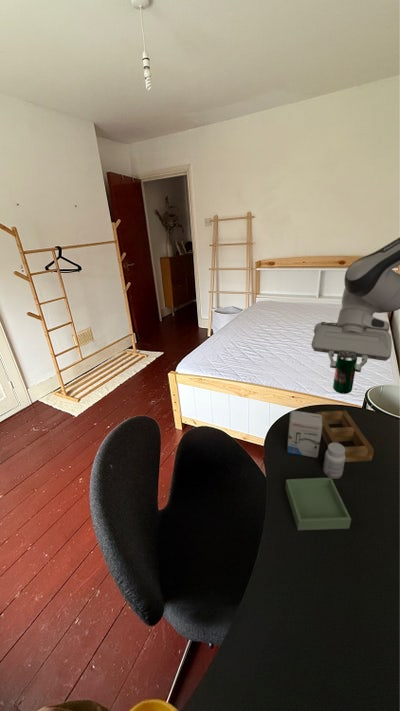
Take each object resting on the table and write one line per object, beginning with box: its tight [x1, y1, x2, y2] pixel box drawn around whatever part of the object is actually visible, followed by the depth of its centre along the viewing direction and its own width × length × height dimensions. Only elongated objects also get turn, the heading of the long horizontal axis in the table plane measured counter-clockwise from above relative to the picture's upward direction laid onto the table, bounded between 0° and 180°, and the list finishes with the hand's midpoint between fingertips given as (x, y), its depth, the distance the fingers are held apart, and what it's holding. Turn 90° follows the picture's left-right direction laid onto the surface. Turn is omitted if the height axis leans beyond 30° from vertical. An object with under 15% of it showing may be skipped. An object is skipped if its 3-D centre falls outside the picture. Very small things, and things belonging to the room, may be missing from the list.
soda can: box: [332, 350, 358, 395], centre depth 84 cm, size 5×5×12 cm
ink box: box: [286, 410, 322, 459], centre depth 84 cm, size 9×5×12 cm, turn 71°
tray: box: [284, 477, 352, 531], centre depth 70 cm, size 11×11×3 cm
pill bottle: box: [322, 442, 346, 479], centre depth 77 cm, size 5×5×8 cm
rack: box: [315, 410, 375, 463], centre depth 89 cm, size 10×18×4 cm, turn 179°
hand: (345, 369), depth 83 cm, fingers closed on soda can, 5 cm apart
